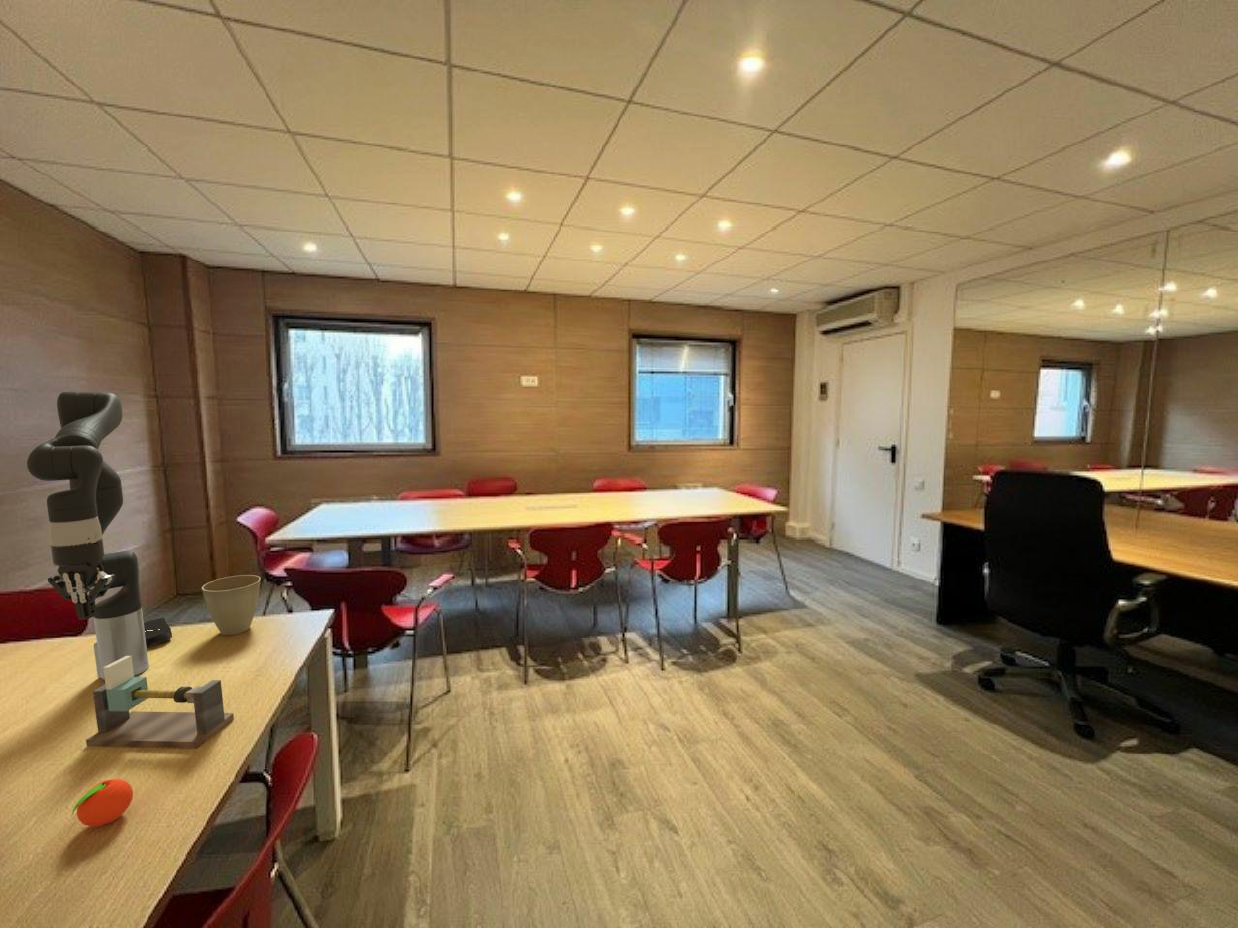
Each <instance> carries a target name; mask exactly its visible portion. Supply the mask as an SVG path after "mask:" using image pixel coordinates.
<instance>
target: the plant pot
mask: <svg viewBox="0 0 1238 928" xmlns="http://www.w3.org/2000/svg"><path fill="white" fill-rule="evenodd" d="M260 587H261V577H260V576H259V575H252V574H241V575H233V576H227V577H222V578H218V579H215V580H212V581H208V582H207V583H204V584H203V585H202V586H201V591H202V594H203V597H204V602H205V604H206V607H207V610H208V612H209V615H210V617H211V619H212V620H213V622H214V625H215V626H216V628H217V629H218V632H219V633H220V634H221V635H222V636H234V635H238V634H242V633H245V632H246V631H248V630H249V629H250V628H251V625H252V622H253V621H254V617H255V614H256V610H257V605H258V601H259V598H260V597H259V596H260V590H261V589H260Z"/></svg>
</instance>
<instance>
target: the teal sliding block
mask: <svg viewBox="0 0 1238 928" xmlns="http://www.w3.org/2000/svg"><path fill="white" fill-rule="evenodd" d="M103 669H104V677H105V681H104V682H105V684H104V685H106V692H107V700H108V708H109V711H128V710H129V711H131V710H132V709H134V708H135V707H136V706H138V705H140V704H141V703H142V702H143V703H144V702H145V701H146V700H148V699H149V698H132V693H131V692H132V691H134V690H149V687H148V681H147V680H148V678H147V676H134V671H133V662H132V656H125V657H123V658H121V659H119V660H117V661H115V662H113V663H111V664H109V665H107V666H105V667H103Z"/></svg>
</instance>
